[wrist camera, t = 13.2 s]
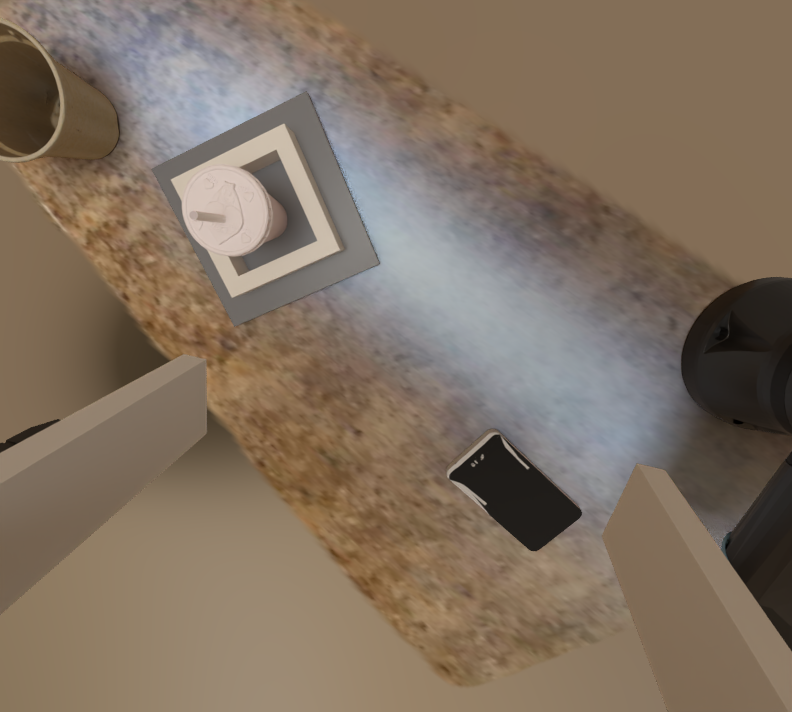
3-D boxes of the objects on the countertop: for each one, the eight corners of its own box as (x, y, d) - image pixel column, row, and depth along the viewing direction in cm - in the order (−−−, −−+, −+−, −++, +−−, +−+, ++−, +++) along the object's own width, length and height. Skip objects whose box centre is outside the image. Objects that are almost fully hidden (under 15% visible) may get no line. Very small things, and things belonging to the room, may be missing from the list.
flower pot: (125, 195, 40) (50, 182, 31) (28, 154, 39) (-75, 129, 31) (149, 93, 37) (74, 50, 29) (46, 47, 37) (-60, -11, 28)
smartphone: (533, 553, 48) (443, 474, 46) (530, 545, 50) (442, 467, 47) (585, 513, 47) (494, 429, 44) (580, 506, 48) (491, 423, 45)
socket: (379, 263, 41) (376, 265, 37) (238, 324, 43) (221, 332, 39) (309, 95, 37) (297, 77, 33) (157, 170, 39) (130, 162, 35)
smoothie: (228, 242, 40) (137, 243, 26) (240, 173, 38) (149, 135, 24) (293, 261, 40) (236, 271, 26) (308, 193, 38) (255, 167, 25)
